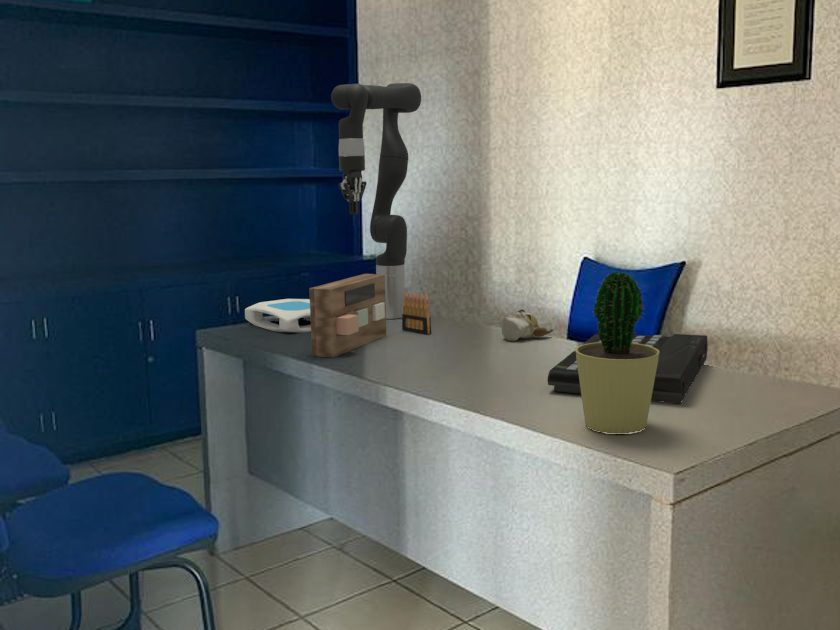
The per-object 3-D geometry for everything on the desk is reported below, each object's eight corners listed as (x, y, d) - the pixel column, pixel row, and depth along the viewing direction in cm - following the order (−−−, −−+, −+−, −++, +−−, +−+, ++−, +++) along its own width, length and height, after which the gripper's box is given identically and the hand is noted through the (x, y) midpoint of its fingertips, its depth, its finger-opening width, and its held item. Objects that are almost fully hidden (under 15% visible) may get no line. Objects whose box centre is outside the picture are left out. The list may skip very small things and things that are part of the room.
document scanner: (287, 335, 256) (286, 315, 255) (244, 323, 277) (243, 304, 276) (347, 326, 268) (346, 306, 267) (301, 314, 290) (300, 296, 289)
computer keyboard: (596, 351, 227) (597, 327, 226) (707, 360, 216) (708, 334, 214) (547, 395, 187) (547, 365, 186) (680, 408, 176) (681, 376, 174)
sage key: (341, 326, 237) (340, 310, 236) (351, 322, 242) (350, 307, 241) (358, 327, 234) (358, 311, 234) (368, 323, 239) (367, 308, 238)
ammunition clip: (431, 334, 253) (430, 293, 251) (427, 335, 252) (426, 294, 249) (406, 329, 260) (405, 290, 258) (401, 330, 259) (400, 291, 257)
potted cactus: (557, 427, 163) (559, 270, 158) (603, 409, 174) (606, 262, 169) (628, 444, 153) (632, 277, 147) (672, 425, 163) (677, 267, 158)
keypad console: (312, 355, 228) (309, 288, 224) (366, 334, 254) (364, 273, 251) (334, 357, 225) (331, 289, 222) (387, 335, 251) (385, 274, 248)
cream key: (359, 319, 246) (358, 304, 245) (368, 316, 250) (367, 301, 250) (376, 321, 243) (375, 305, 243) (384, 317, 248) (384, 302, 247)
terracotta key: (330, 333, 227) (329, 317, 226) (340, 329, 232) (340, 313, 231) (348, 335, 224) (347, 318, 224) (358, 331, 229) (358, 315, 228)
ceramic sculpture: (491, 308, 242) (529, 305, 252) (490, 338, 244) (527, 334, 253) (518, 313, 234) (556, 310, 243) (516, 344, 235) (554, 340, 245)
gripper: (351, 154, 259) (353, 212, 262) (328, 155, 247) (331, 215, 250) (373, 154, 256) (375, 212, 259) (351, 154, 244) (353, 215, 247)
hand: (353, 214), depth 254 cm, fingers closed
